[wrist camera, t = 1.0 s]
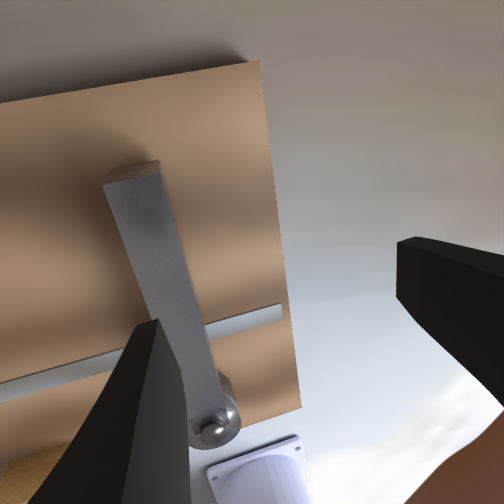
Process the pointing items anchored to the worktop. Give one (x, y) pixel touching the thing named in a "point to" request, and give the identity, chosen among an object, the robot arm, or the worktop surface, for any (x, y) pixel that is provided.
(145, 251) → the swing bar
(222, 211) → the latch board
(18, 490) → the light wood small block
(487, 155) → the worktop surface
